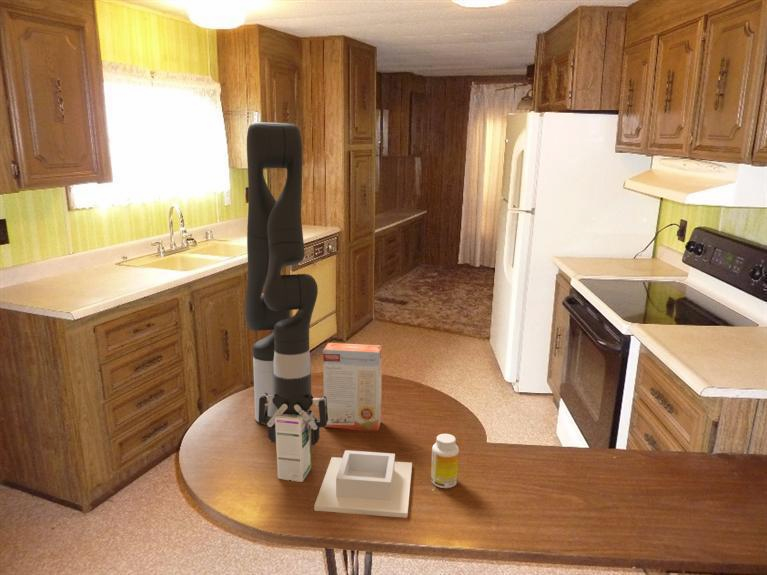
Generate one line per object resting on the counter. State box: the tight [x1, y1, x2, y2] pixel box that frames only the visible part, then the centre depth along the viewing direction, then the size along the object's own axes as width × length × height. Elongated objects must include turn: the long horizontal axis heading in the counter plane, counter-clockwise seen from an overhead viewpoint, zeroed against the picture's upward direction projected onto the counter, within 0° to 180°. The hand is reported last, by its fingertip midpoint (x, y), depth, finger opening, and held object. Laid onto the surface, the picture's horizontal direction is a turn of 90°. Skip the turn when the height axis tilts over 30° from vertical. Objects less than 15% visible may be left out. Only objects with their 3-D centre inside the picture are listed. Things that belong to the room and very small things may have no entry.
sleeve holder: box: [313, 450, 413, 519], centre depth 116 cm, size 18×18×5 cm
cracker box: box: [322, 342, 383, 432], centre depth 141 cm, size 14×6×21 cm, turn 83°
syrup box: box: [275, 412, 312, 483], centre depth 119 cm, size 6×6×14 cm
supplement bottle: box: [430, 433, 460, 489], centre depth 118 cm, size 6×6×10 cm
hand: (294, 442), depth 119 cm, fingers open, 8 cm apart
